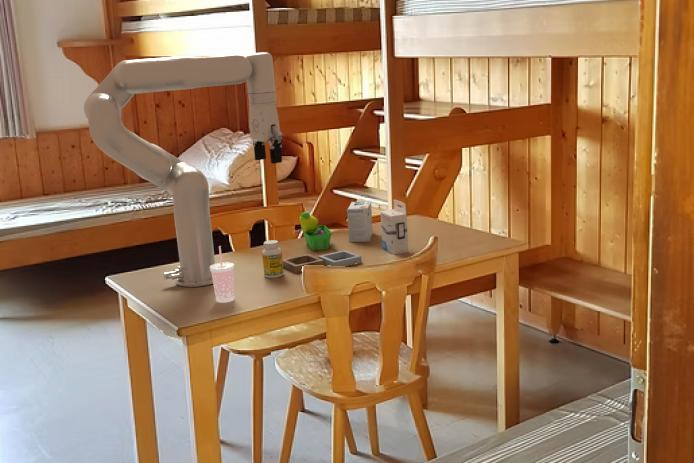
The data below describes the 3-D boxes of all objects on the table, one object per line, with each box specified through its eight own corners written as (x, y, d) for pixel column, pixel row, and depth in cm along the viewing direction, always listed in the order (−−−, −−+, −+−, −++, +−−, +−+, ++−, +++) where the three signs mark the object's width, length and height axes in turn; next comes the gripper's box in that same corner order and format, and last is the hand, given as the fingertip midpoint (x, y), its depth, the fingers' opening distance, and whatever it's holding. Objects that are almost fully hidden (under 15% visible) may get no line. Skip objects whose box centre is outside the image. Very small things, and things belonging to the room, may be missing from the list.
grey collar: (334, 269, 230) (333, 262, 229) (318, 262, 237) (318, 256, 237) (361, 262, 234) (361, 256, 234) (345, 256, 242) (345, 250, 241)
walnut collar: (295, 273, 228) (295, 266, 228) (281, 266, 236) (280, 259, 235) (324, 266, 233) (323, 260, 232) (309, 260, 240) (308, 253, 240)
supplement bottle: (277, 271, 231) (274, 238, 229) (287, 275, 227) (284, 241, 225) (260, 275, 228) (257, 242, 226) (270, 279, 224) (266, 245, 222)
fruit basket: (333, 248, 252) (331, 212, 249) (305, 252, 250) (302, 216, 247) (325, 240, 263) (323, 205, 260) (298, 243, 261) (295, 209, 258)
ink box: (381, 248, 248) (378, 201, 244) (396, 246, 250) (393, 198, 246) (394, 255, 240) (391, 205, 237) (409, 252, 242) (406, 203, 238)
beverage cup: (236, 302, 207) (231, 248, 203) (212, 304, 206) (206, 250, 203) (237, 295, 212) (232, 242, 209) (214, 297, 212) (208, 244, 209)
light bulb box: (353, 233, 269) (350, 201, 266) (373, 233, 268) (371, 200, 265) (348, 242, 258) (346, 208, 256) (369, 241, 257) (367, 207, 255)
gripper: (236, 99, 230) (242, 160, 234) (264, 101, 216) (270, 166, 220) (260, 96, 234) (266, 156, 238) (289, 98, 219) (295, 162, 223)
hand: (268, 161), depth 229 cm, fingers open, 9 cm apart
